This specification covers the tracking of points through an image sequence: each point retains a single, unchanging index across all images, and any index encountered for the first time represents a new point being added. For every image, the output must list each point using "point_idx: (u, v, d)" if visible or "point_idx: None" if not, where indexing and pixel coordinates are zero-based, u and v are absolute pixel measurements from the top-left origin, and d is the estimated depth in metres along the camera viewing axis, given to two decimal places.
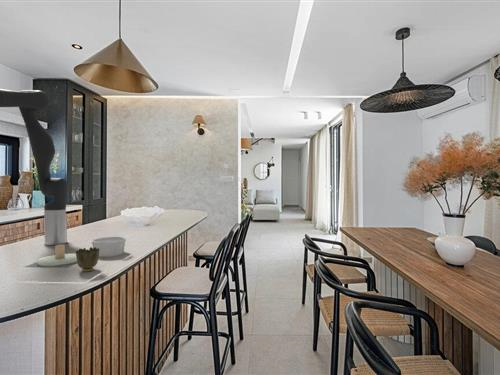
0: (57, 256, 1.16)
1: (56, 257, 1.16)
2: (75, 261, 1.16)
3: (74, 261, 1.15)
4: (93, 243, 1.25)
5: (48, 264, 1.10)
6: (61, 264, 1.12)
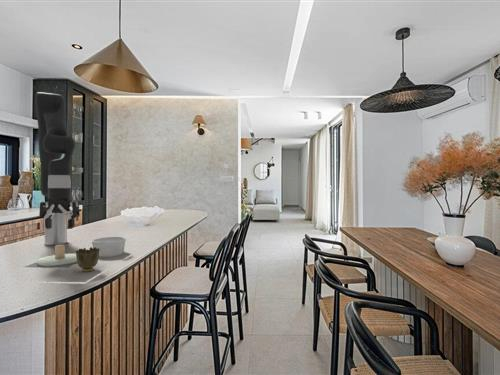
0: (57, 256, 1.16)
1: (56, 257, 1.16)
2: (75, 261, 1.16)
3: (74, 261, 1.15)
4: (93, 243, 1.25)
5: (48, 264, 1.10)
6: (61, 264, 1.12)
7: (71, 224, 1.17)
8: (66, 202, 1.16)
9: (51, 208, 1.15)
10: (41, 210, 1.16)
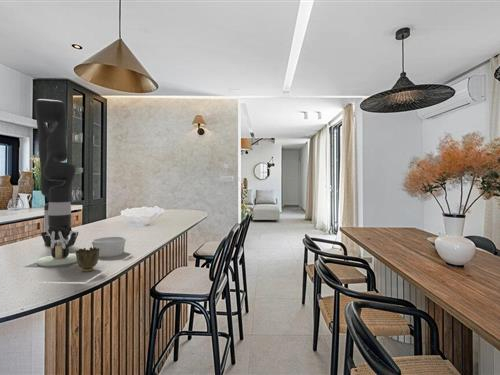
0: (57, 256, 1.16)
1: (56, 257, 1.16)
2: (75, 261, 1.16)
3: (74, 261, 1.15)
4: (93, 243, 1.25)
5: (48, 264, 1.10)
6: (61, 264, 1.12)
7: (65, 253, 1.17)
8: (67, 229, 1.16)
9: (53, 235, 1.16)
10: (45, 240, 1.16)
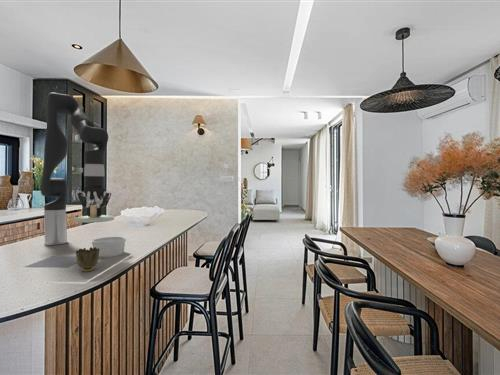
0: (92, 215, 1.24)
1: (91, 216, 1.24)
2: (109, 219, 1.24)
3: (108, 219, 1.23)
4: (93, 243, 1.25)
5: (85, 220, 1.18)
6: (97, 221, 1.20)
7: (99, 212, 1.25)
8: (101, 190, 1.24)
9: (88, 195, 1.24)
10: (81, 199, 1.25)
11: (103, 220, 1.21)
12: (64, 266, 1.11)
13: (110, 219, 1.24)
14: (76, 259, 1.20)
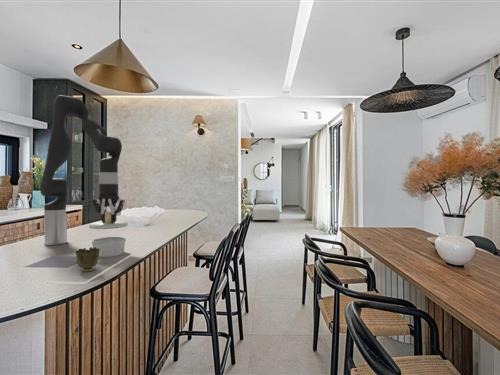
0: (107, 221, 1.28)
1: (106, 222, 1.29)
2: (123, 225, 1.28)
3: (122, 225, 1.28)
4: (93, 243, 1.25)
5: (101, 226, 1.23)
6: (112, 227, 1.24)
7: (114, 219, 1.29)
8: (116, 197, 1.29)
9: (103, 202, 1.28)
10: (96, 206, 1.29)
11: (118, 226, 1.26)
12: (64, 266, 1.11)
13: (124, 225, 1.29)
14: (76, 259, 1.20)
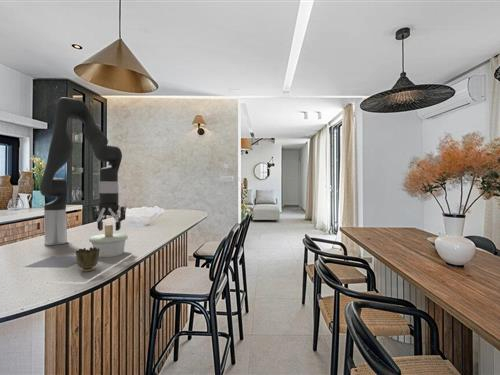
0: (107, 234, 1.29)
1: (106, 235, 1.29)
2: (123, 239, 1.28)
3: (122, 239, 1.28)
4: (93, 243, 1.25)
5: (101, 241, 1.23)
6: (112, 241, 1.24)
7: (118, 226, 1.30)
8: (115, 206, 1.29)
9: (102, 211, 1.28)
10: (93, 214, 1.29)
11: (118, 240, 1.26)
12: (64, 266, 1.11)
13: (124, 238, 1.29)
14: (76, 259, 1.20)
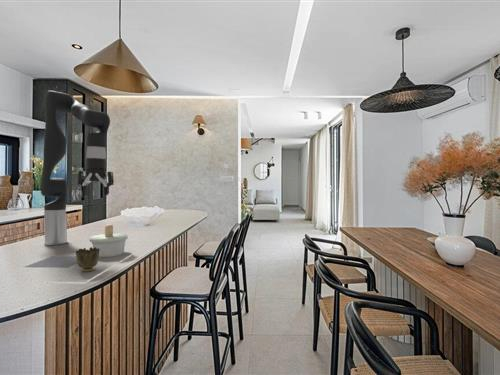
0: (107, 234, 1.29)
1: (106, 235, 1.29)
2: (123, 239, 1.29)
3: (123, 239, 1.28)
4: (93, 243, 1.25)
5: (101, 240, 1.23)
6: (113, 241, 1.24)
7: (106, 191, 1.30)
8: (102, 171, 1.29)
9: (89, 176, 1.28)
10: (79, 178, 1.29)
11: (118, 240, 1.26)
12: (64, 266, 1.11)
13: (124, 238, 1.29)
14: (76, 259, 1.20)
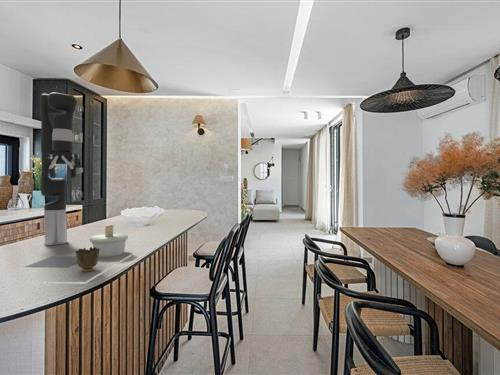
0: (107, 234, 1.29)
1: (106, 235, 1.29)
2: (123, 239, 1.29)
3: (123, 239, 1.28)
4: (93, 243, 1.26)
5: (102, 240, 1.23)
6: (113, 241, 1.25)
7: (73, 174, 1.29)
8: (69, 154, 1.29)
9: (55, 159, 1.28)
10: (46, 161, 1.29)
11: (119, 240, 1.26)
12: (64, 266, 1.11)
13: (125, 238, 1.29)
14: (76, 259, 1.20)
